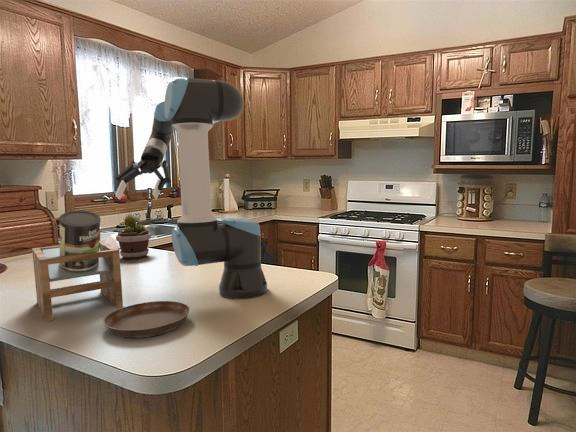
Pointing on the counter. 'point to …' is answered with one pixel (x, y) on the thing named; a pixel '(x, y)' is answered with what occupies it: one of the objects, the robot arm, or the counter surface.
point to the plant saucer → (146, 319)
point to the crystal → (113, 241)
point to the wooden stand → (107, 284)
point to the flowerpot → (133, 239)
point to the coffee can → (79, 238)
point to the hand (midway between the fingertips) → (136, 196)
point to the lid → (62, 274)
